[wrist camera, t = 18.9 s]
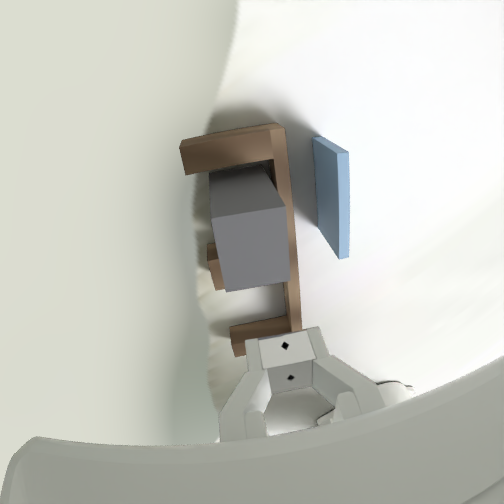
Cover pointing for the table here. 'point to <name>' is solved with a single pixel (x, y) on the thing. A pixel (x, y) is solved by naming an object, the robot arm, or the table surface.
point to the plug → (249, 228)
